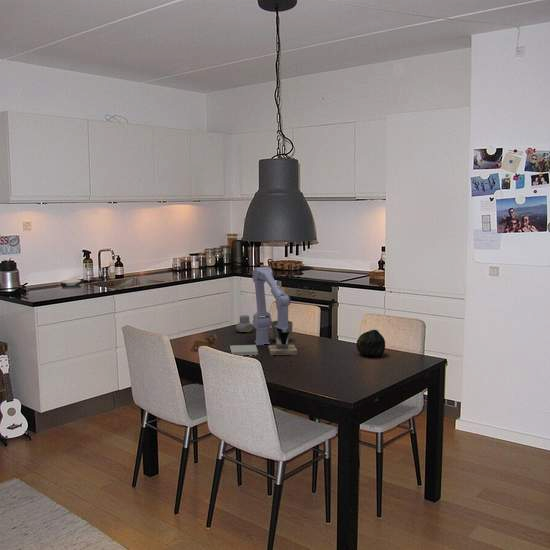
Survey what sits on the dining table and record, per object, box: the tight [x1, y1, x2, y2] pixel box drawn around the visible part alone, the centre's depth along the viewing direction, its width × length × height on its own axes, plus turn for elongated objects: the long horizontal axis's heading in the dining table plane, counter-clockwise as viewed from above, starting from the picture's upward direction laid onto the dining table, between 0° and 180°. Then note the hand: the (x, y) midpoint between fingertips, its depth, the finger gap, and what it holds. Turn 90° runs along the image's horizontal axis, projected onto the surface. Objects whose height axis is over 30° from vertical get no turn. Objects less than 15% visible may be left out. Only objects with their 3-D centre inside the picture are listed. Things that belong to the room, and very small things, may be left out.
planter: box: [270, 320, 293, 342], centre depth 353 cm, size 12×12×11 cm
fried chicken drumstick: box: [190, 333, 218, 351], centre depth 330 cm, size 15×5×9 cm, turn 100°
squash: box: [356, 329, 386, 357], centre depth 321 cm, size 14×15×15 cm
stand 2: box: [267, 343, 298, 357], centre depth 328 cm, size 14×14×2 cm
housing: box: [275, 338, 289, 349], centre depth 327 cm, size 4×6×5 cm
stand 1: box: [229, 344, 259, 357], centre depth 326 cm, size 14×14×2 cm
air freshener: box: [235, 314, 254, 333], centre depth 375 cm, size 11×8×10 cm
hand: (282, 342), depth 327 cm, fingers open, 7 cm apart
